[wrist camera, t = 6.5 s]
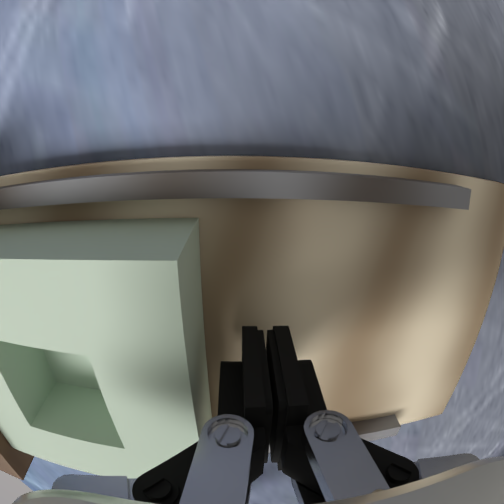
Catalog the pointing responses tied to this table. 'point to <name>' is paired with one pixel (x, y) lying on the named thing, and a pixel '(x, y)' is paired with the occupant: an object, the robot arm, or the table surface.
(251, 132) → the table surface
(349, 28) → the table surface
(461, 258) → the rail board
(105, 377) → the sliding block
